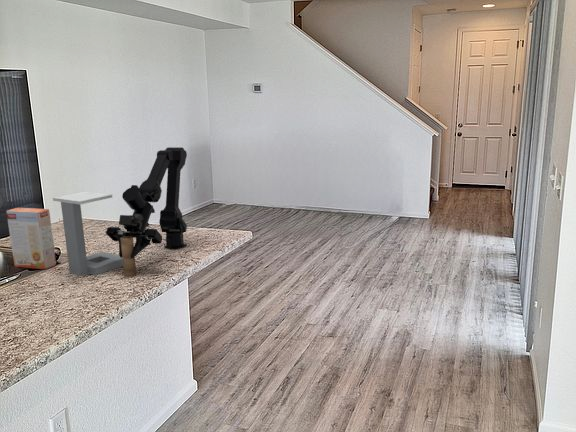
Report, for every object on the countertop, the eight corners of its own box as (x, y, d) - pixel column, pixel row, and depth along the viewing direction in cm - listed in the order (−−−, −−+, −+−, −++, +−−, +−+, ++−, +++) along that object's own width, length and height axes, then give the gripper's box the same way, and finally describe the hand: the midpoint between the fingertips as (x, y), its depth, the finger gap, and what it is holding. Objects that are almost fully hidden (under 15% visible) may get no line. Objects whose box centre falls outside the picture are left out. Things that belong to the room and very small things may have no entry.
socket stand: (102, 257, 196) (95, 189, 190) (128, 263, 189) (121, 192, 183) (62, 271, 182) (52, 197, 176) (88, 277, 175) (79, 201, 169)
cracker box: (57, 265, 189) (50, 208, 185) (44, 270, 184) (36, 212, 179) (26, 261, 194) (18, 206, 189) (13, 267, 188) (5, 210, 184)
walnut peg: (130, 272, 180) (127, 235, 177) (139, 273, 178) (135, 236, 175) (121, 275, 177) (117, 238, 174) (129, 277, 175) (126, 239, 172)
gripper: (105, 203, 178) (89, 244, 170) (155, 205, 173) (140, 247, 165) (121, 220, 187) (106, 259, 179) (168, 223, 182) (155, 263, 175)
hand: (126, 257), depth 175 cm, fingers closed on walnut peg, 4 cm apart
